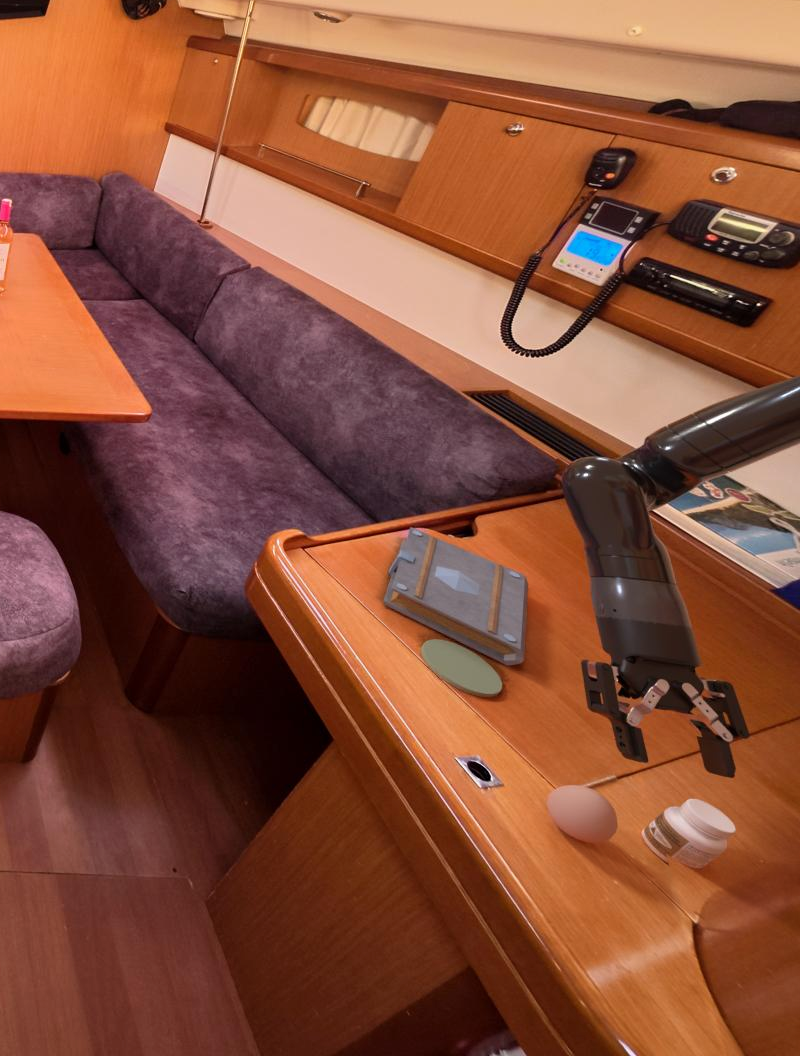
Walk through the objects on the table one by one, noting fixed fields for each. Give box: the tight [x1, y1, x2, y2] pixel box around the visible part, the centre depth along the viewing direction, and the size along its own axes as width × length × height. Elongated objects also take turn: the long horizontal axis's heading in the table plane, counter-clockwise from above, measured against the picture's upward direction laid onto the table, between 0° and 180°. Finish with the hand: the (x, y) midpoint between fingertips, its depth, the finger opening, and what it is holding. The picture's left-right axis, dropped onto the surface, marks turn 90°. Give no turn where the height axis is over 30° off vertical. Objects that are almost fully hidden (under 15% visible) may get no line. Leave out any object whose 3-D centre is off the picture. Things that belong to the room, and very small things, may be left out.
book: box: [382, 526, 529, 666], centre depth 104 cm, size 21×16×5 cm
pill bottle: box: [641, 798, 737, 869], centre depth 71 cm, size 4×4×8 cm
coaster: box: [420, 638, 503, 698], centre depth 93 cm, size 9×9×1 cm
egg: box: [546, 784, 618, 844], centre depth 73 cm, size 5×5×7 cm
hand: (678, 768), depth 72 cm, fingers open, 8 cm apart
